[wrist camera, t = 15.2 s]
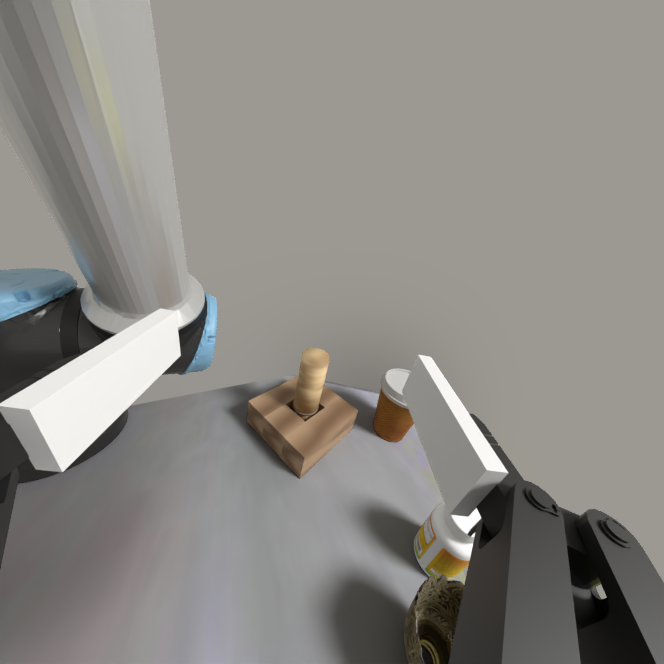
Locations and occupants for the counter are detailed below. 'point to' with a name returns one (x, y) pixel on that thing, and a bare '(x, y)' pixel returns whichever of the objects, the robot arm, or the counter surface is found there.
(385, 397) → the disposable coffee cup
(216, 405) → the counter surface
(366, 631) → the counter surface
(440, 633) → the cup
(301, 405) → the leg
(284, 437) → the seat block
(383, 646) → the counter surface
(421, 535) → the supplement bottle
